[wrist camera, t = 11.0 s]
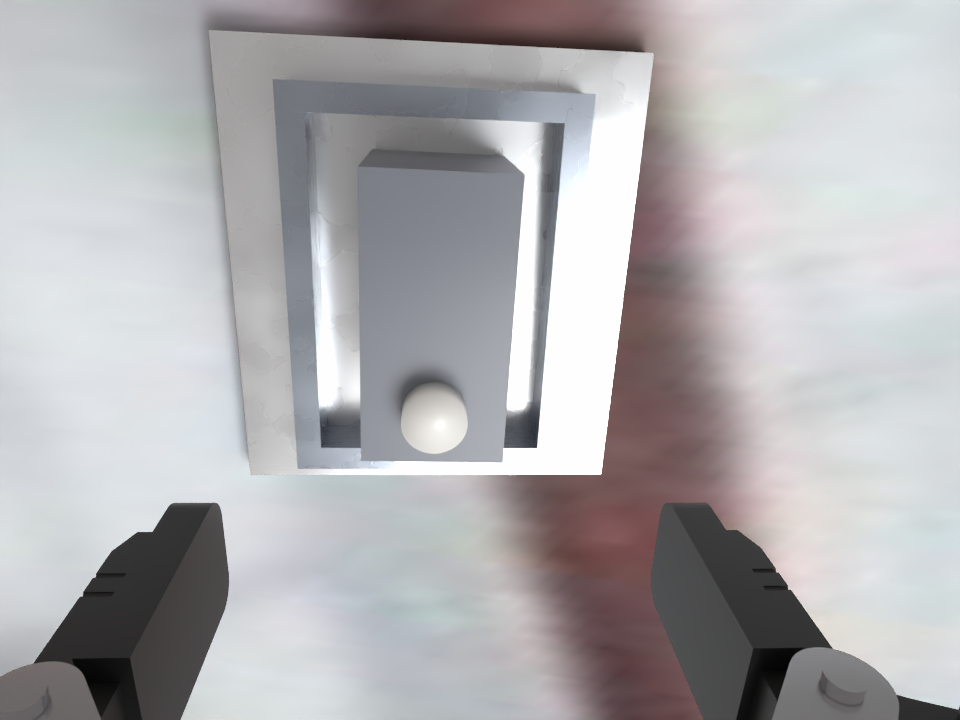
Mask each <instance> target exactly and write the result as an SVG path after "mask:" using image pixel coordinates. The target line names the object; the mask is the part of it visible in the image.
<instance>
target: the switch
mask: <svg viewBox="0 0 960 720" xmlns="http://www.w3.org/2000/svg"><path fill="white" fill-rule="evenodd" d="M208 31H209V41H210V52H211V62H212V73H213V84H214V94H215V105H216V115H217V126H218V137H219V147H220V158H221V168H222V179H223V189H224V200H225V211H226V221H227V232H228V242H229V253H230V264H231V274H232V285H233V295H234V306H235V317H236V327H237V338H238V348H239V359H240V369H241V380H242V391H243V401H244V412H245V422H246V433H247V444H248V454H249V465H250V475H503V474H601V469H602V461H603V454H604V446H605V438H606V430H607V422H608V414H609V406H610V398H611V390H612V382H613V374H614V366H615V358H616V351H617V343H618V335H619V327H620V319H621V311H622V303H623V295H624V287H625V279H626V271H627V263H628V255H629V248H630V240H631V232H632V224H633V216H634V208H635V200H636V192H637V184H638V176H639V168H640V160H641V152H642V145H643V137H644V129H645V121H646V113H647V105H648V97H649V89H650V81H651V73H652V65H653V57H654V53H641V52H622V51H603V50H584V49H565V48H546V47H527V46H507V45H488V44H469V43H450V42H431V41H412V40H393V39H373V38H354V37H335V36H316V35H297V34H278V33H259V32H239V31H220V30H208ZM372 149H382V150H402V151H421V152H441V153H461V154H480V155H500V156H505V157H506V158H507V159H508V160H509V161H510V162H511V163H513V164H514V165H515V166H516V167H517V168H518V169H519V170H520V171H522V172H523V173H524V174H525V180H524V192H523V205H522V218H521V231H520V244H519V257H518V270H517V283H516V296H515V309H514V322H513V335H512V348H511V361H510V374H509V387H508V400H507V413H506V425H505V438H504V451H503V463H485V462H389V461H361V421H360V331H359V241H358V165H359V164H360V163H361V162H362V161H363V160H364V158H365V157H366V156H367V155H368V154H369V152H370V151H371V150H372Z"/></svg>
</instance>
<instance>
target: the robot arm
mask: <svg viewBox="0 0 960 720" xmlns="http://www.w3.org/2000/svg"><path fill="white" fill-rule="evenodd" d="M228 589H229V572H228V564H227V555H226V547H225V539H224V530H223V522H222V514H221V509H220V507H219V505H218V504H217V503H173V504H171V505H170V506H169V507H168V509H167V510H166V512H165V513H164V515H163V516H162V518H161V520H160V521H159V523H158V524H157V526H156V527H155V529H154V531H153V532H137V533H136V534H134V535H133V536H132V537H130V538H129V539H128V540H126V541H125V542H124V543H122V544H121V545H120V546H118V547H117V548H116V549H114V550H113V551H112V552H111V553H110V555H109V556H108V557H107V559H106V560H105V562H104V563H103V565H102V566H101V567H100V569H99V570H98V572H97V573H96V578H93V579H92V580H91V582H90V583H89V585H88V586H87V588H86V589H85V590H84V592H83V597H80V598H79V599H78V600H77V602H76V603H75V605H74V606H73V608H72V609H71V610H70V612H69V613H68V615H67V616H66V618H65V619H64V621H63V622H62V623H61V625H60V626H59V628H58V629H57V631H56V632H55V633H54V635H53V636H52V638H51V639H50V641H49V642H48V643H47V645H46V646H45V648H44V649H43V651H42V652H41V653H40V655H39V656H38V658H37V659H36V661H35V662H34V664H31V665H27V666H24V667H21V668H18V669H16V670H13V671H11V672H9V673H7V674H5V675H3V676H1V677H0V720H181V717H182V715H183V712H184V710H185V707H186V705H187V702H188V700H189V697H190V695H191V692H192V690H193V687H194V685H195V682H196V680H197V677H198V675H199V672H200V670H201V667H202V665H203V662H204V660H205V657H206V655H207V652H208V650H209V647H210V645H211V642H212V640H213V638H214V635H215V633H216V630H217V628H218V625H219V623H220V620H221V618H222V615H223V613H224V610H225V606H226V602H227V597H228ZM651 589H652V596H653V600H654V604H655V607H656V609H657V612H658V614H659V616H660V619H661V621H662V623H663V626H664V628H665V630H666V633H667V635H668V637H669V640H670V642H671V645H672V647H673V649H674V652H675V654H676V656H677V659H678V661H679V663H680V666H681V668H682V670H683V673H684V675H685V677H686V680H687V682H688V684H689V687H690V689H691V691H692V694H693V696H694V698H695V701H696V703H697V705H698V708H699V710H700V712H701V715H702V717H703V719H704V720H960V707H959V710H956V709H952V708H948V707H944V706H939V705H935V704H931V703H927V702H922V701H918V700H914V699H910V698H906V697H902V696H899V695H896V693H895V691H894V689H893V688H892V686H891V685H890V684H889V682H888V681H887V680H886V679H885V678H884V677H883V676H882V675H881V674H880V673H879V672H878V671H877V670H875V669H874V668H873V667H871V666H870V665H868V664H867V663H865V662H864V661H862V660H860V659H858V658H856V657H854V656H852V655H850V654H847V653H845V652H842V651H839V650H835V649H833V648H832V647H831V646H830V644H829V643H828V641H827V640H826V639H825V637H824V636H823V634H822V633H821V632H820V630H819V629H818V627H817V626H816V625H815V623H814V622H813V620H812V619H811V618H810V616H809V615H808V613H807V612H806V611H805V609H804V608H803V606H802V605H801V604H800V602H799V601H798V599H797V598H796V596H795V595H794V594H793V592H792V591H791V590H788V585H787V584H786V582H785V581H784V580H783V578H782V577H781V575H780V574H779V573H776V568H775V567H774V566H773V564H772V563H771V561H770V560H769V559H768V557H767V556H766V554H765V553H764V552H763V550H762V549H761V548H760V547H759V546H758V545H756V544H755V543H754V542H752V541H751V540H750V539H748V538H747V537H746V536H744V535H743V534H742V533H740V532H739V531H738V530H726V529H725V528H724V526H723V525H722V523H721V522H720V520H719V519H718V517H717V516H716V514H715V513H714V511H713V510H712V508H711V507H710V506H709V505H708V504H707V503H666V504H664V506H663V508H662V510H661V514H660V520H659V527H658V533H657V539H656V545H655V552H654V558H653V564H652V571H651Z"/></svg>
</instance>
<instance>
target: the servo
mask: <svg viewBox="0 0 960 720" xmlns="http://www.w3.org/2000/svg"><path fill="white" fill-rule="evenodd" d="M524 180H525V174H524V173H523V172H522V171H520V170H519V169H518V168H517V167H516V166H515V165H514V164H513V163H511V162H510V161H509V160H508V159H507V158H506V157H505V156H500V155H480V154H461V153H441V152H421V151H402V150H382V149H372V150H371V151H370V152H369V154H368V155H367V156H366V157H365V158H364V160H363V161H362V162H361V163H360V164H359V165H358V241H359V331H360V421H361V461H389V462H485V463H503V451H504V438H505V425H506V413H507V400H508V387H509V374H510V361H511V348H512V335H513V322H514V309H515V296H516V283H517V270H518V257H519V244H520V231H521V218H522V205H523V192H524Z"/></svg>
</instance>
